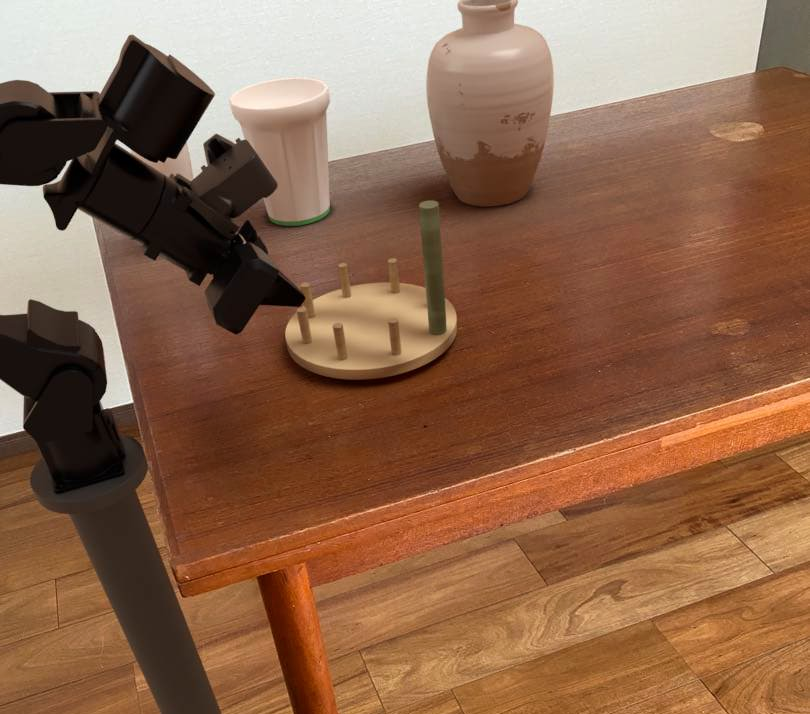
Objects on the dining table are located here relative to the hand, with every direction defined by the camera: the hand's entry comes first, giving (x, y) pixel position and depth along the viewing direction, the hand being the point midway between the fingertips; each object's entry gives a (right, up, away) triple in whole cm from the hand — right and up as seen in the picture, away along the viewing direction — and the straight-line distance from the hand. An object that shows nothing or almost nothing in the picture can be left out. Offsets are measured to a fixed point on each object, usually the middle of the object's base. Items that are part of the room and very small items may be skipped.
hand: (302, 300), depth 80 cm
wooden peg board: (+6, 0, +14) cm, 15 cm away
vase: (+21, +25, +40) cm, 52 cm away
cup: (-5, +23, +41) cm, 47 cm away
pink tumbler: (-20, +17, +37) cm, 45 cm away
